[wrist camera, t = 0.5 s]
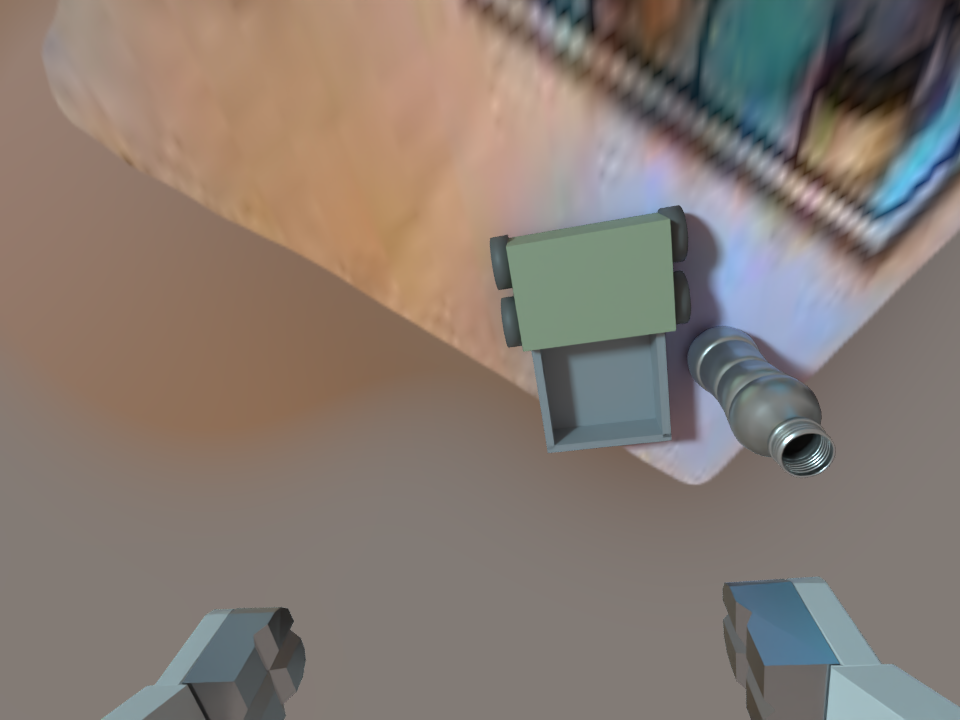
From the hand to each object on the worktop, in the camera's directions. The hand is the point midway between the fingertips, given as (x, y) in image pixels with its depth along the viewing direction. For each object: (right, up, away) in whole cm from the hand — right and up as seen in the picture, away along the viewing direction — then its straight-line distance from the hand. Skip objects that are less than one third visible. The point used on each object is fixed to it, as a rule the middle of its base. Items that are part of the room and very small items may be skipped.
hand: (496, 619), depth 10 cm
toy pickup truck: (+11, +8, +44) cm, 47 cm away
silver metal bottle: (+24, +6, +44) cm, 51 cm away
